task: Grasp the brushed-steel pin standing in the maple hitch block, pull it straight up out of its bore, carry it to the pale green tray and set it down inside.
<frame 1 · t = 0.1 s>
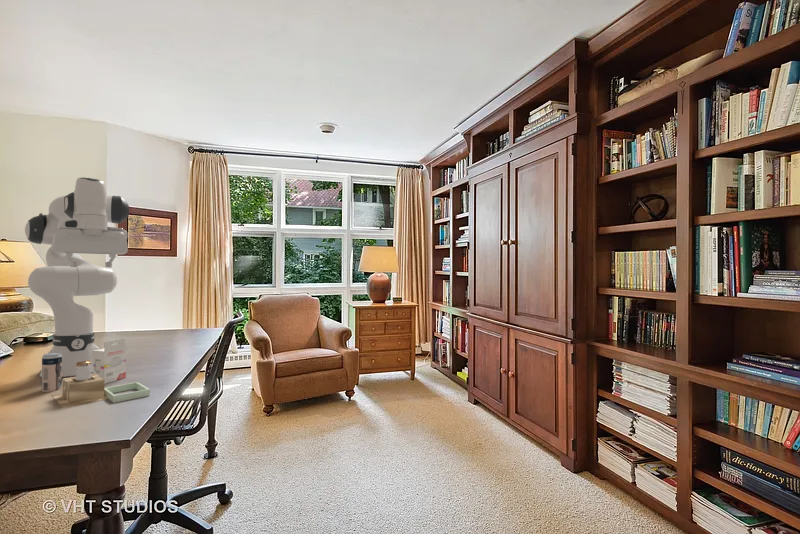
hand: (91, 267, 137), 39 cm above the table, tool pointing down, fingers open, 8 cm apart
tray: (126, 398, 124), on the table
beer can: (51, 393, 128), on the table
steel pin: (83, 396, 122), point 1 cm above the table, touching hitch block
ink cartridge box: (109, 383, 139), on the table
hitch block: (83, 399, 122), on the table
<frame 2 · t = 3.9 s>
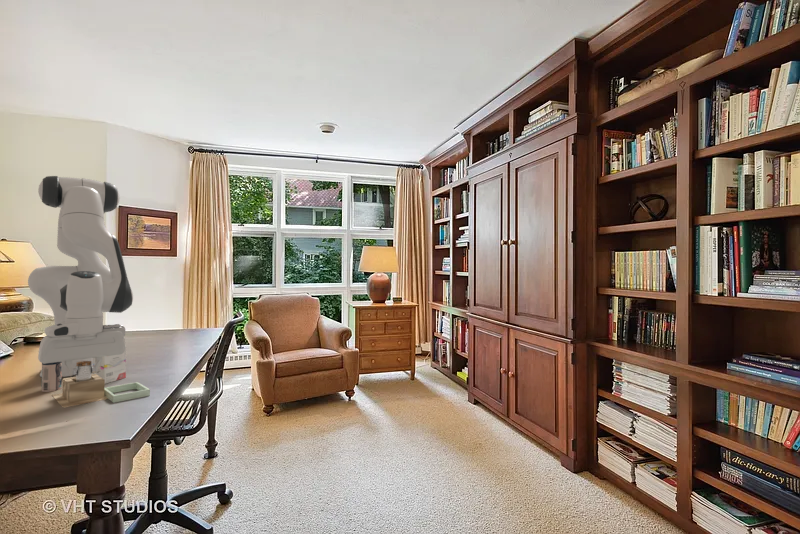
hand: (83, 373, 122), 8 cm above the table, tool pointing down, fingers closed on steel pin, 4 cm apart
steel pin: (83, 396, 122), point 1 cm above the table, touching gripper, hitch block
everything else where it was.
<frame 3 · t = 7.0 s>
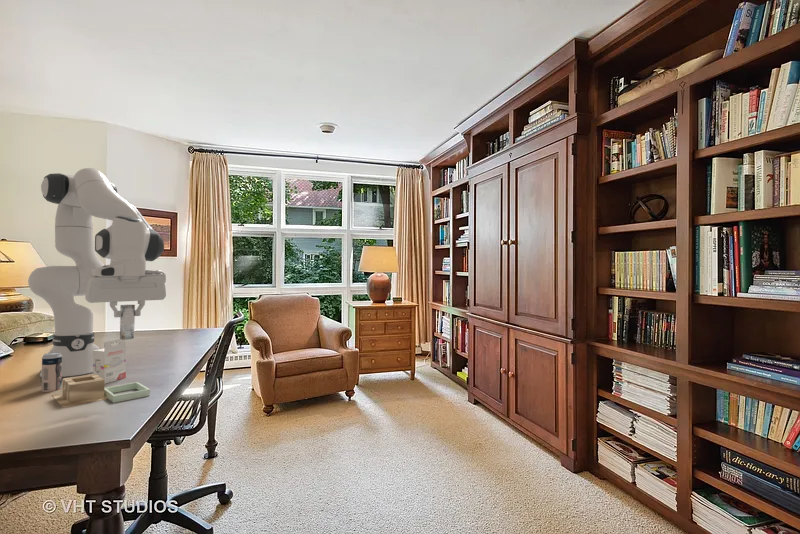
hand: (127, 316, 124), 24 cm above the table, tool pointing down, fingers closed on steel pin, 4 cm apart
steel pin: (127, 338, 124), point 18 cm above the table, touching gripper
everything else where it was.
when the fingers open (8 cm above the table, at t = 10.5 s): steel pin drops 1 cm, resting on tray.
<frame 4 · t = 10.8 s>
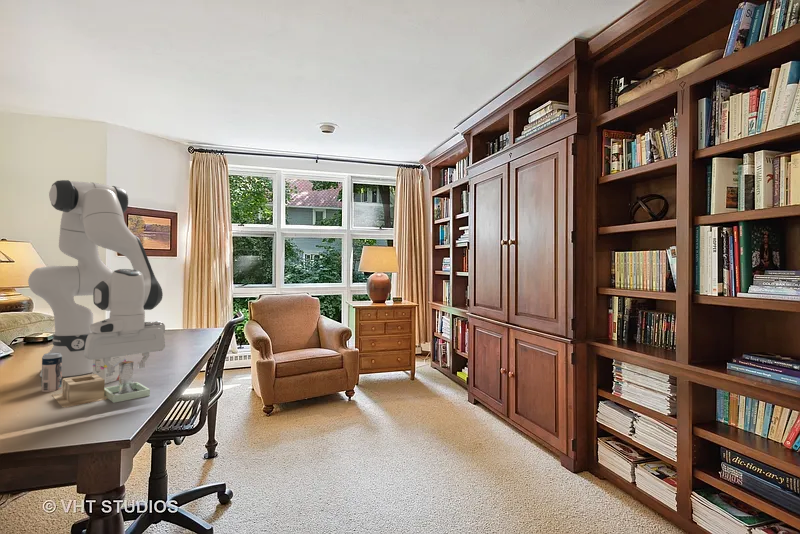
hand: (126, 369, 124), 8 cm above the table, tool pointing down, fingers open, 6 cm apart
steel pin: (126, 395, 124), point 1 cm above the table, touching tray
everything else where it was.
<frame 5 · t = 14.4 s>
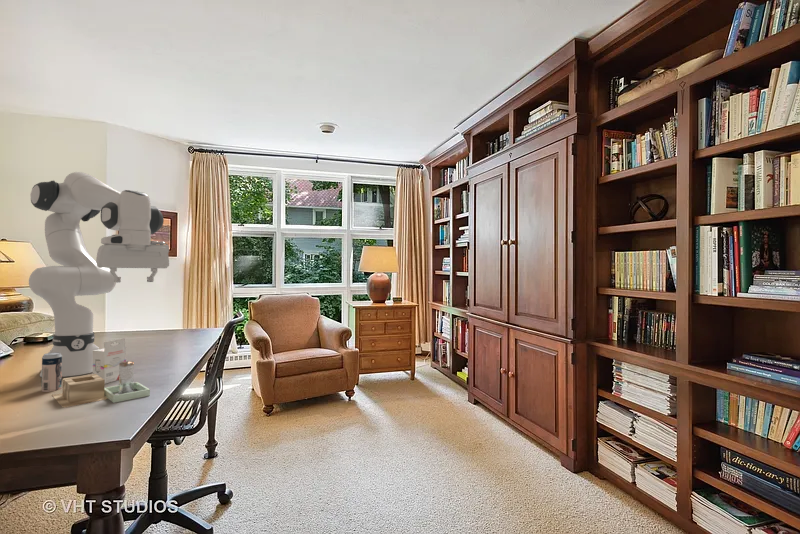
hand: (134, 282, 136), 34 cm above the table, tool pointing down, fingers open, 8 cm apart
nothing on the table moved.
at the end: steel pin inside the target area on the tray (0.0 cm from its centre), point 0.6 cm above the tray's base; the gripper is holding nothing; steel pin touching tray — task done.
